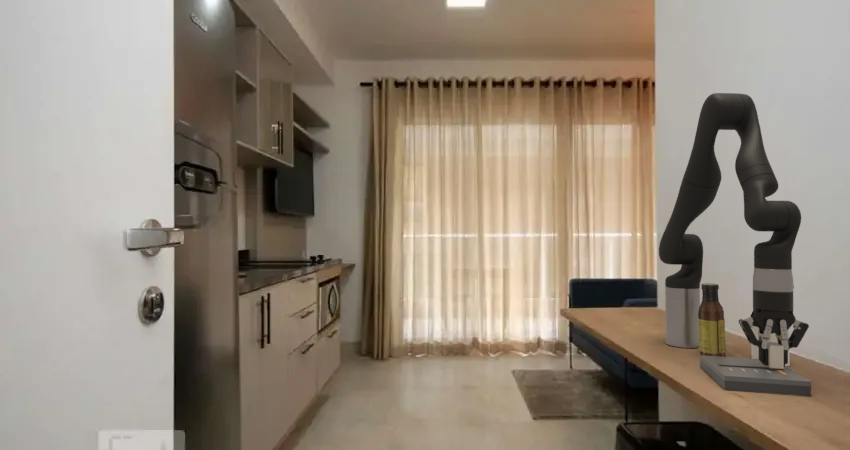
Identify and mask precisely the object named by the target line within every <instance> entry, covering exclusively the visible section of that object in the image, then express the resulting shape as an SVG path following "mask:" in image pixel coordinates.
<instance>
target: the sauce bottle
mask: <svg viewBox="0 0 850 450" xmlns="http://www.w3.org/2000/svg"><path fill="white" fill-rule="evenodd" d="M700 289H701V290H702V292H701V293H702V299H701V301H700V307H699V313H698V323H699V347H698V349H699V351H700V355H701V356H718V357H727V356H726V353H727V344H726V341H727V340H726V325H725V323H726V321H725V317H724V316H725V311H724V308H723V306H722V304H721V303H720V299H719V289H720V287H719V284H718V283H711V282H708V283H707V282H704V283H701V286H700Z"/></svg>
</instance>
